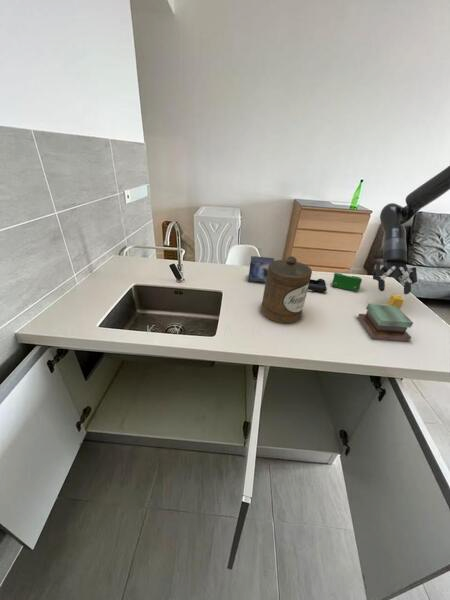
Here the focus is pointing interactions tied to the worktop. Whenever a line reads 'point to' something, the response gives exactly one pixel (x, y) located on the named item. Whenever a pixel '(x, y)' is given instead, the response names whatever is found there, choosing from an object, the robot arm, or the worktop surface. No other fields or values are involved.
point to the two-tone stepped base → (386, 323)
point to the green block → (346, 282)
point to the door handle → (317, 285)
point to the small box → (259, 269)
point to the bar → (395, 301)
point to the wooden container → (285, 290)
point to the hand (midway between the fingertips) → (394, 292)
